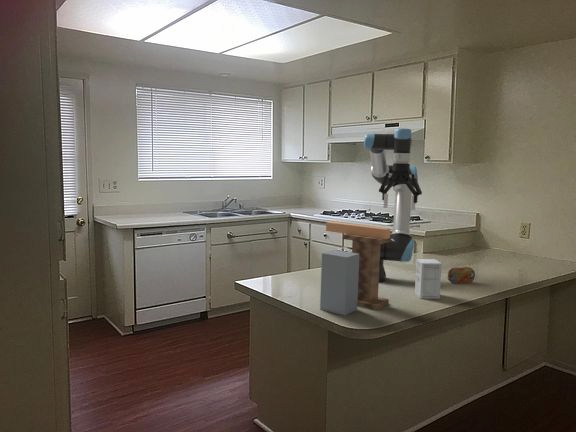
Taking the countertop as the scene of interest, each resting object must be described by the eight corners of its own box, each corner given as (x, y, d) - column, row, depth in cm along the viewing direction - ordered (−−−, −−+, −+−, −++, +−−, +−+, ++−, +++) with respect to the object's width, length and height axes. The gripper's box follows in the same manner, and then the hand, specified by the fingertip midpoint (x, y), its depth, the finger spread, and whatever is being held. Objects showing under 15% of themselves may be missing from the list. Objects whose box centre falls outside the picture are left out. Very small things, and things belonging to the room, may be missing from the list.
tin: (449, 284, 249) (450, 268, 248) (446, 282, 252) (447, 267, 251) (474, 283, 253) (475, 267, 252) (471, 281, 256) (472, 265, 255)
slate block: (320, 309, 203) (321, 253, 200) (333, 303, 211) (335, 249, 208) (344, 315, 196) (346, 257, 193) (357, 309, 203) (359, 253, 200)
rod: (325, 230, 221) (326, 222, 220) (330, 230, 224) (331, 221, 223) (385, 239, 202) (386, 229, 202) (389, 237, 206) (390, 228, 205)
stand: (339, 301, 215) (341, 234, 211) (353, 295, 224) (355, 231, 220) (375, 310, 204) (378, 239, 200) (388, 303, 213) (391, 236, 209)
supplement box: (433, 293, 231) (435, 258, 229) (440, 299, 222) (442, 263, 220) (413, 293, 231) (415, 258, 229) (419, 298, 222) (421, 262, 220)
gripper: (373, 162, 225) (370, 207, 228) (424, 163, 211) (421, 211, 213) (380, 162, 231) (378, 206, 234) (430, 163, 217) (428, 210, 219)
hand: (399, 208), depth 224 cm, fingers open, 13 cm apart
